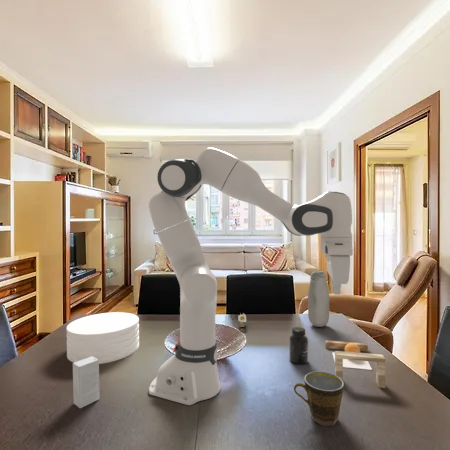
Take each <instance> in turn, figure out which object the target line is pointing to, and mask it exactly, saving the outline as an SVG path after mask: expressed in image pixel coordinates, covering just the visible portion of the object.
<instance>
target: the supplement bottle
mask: <svg viewBox="0 0 450 450" xmlns="http://www.w3.org/2000/svg"><path fill="white" fill-rule="evenodd" d="M291 328H292V329H291V335H290V337H289V349H288V350H289V351H288V352H289V361H290V362H291V363H292V364H295V365H305V364H307V363H308V362H309V339H308V337H307V336H306V328H304V327H299V326H295V327H291Z"/></svg>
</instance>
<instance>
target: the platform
mask: <svg viewBox="0 0 450 450" xmlns="http://www.w3.org/2000/svg"><path fill="white" fill-rule="evenodd" d="M237 318H238V320H237V321H238V322H240V326H245V323H246V322H247V314H245V313H244V312H243V313H242V314H241V312H240V315H237Z"/></svg>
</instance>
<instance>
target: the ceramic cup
mask: <svg viewBox="0 0 450 450" xmlns="http://www.w3.org/2000/svg"><path fill="white" fill-rule="evenodd" d="M303 381H304V383H303V382H297V383H296V384H295V385H294V387H293V390H294V393H295V394H296V395H297V396H299V397H300V398H301V399H302V400H303V401H304V402H306V403H307V405H308V408H309V412H310V413H309V414H310V417H311V419H312V420H313V422H315V423H317V424H319V425H321V426H324V427H325V426H334V425H335V424H336V423H337V421H339V415H340V409H341V404H342V398H343V396H344V395H343V393H344V389H345V383H344V380H343V381H342V380H341V379H340V378H339V377H338V376H336V375H335V373H330V372H327V371H318V370H317V371H312V372H308V373H307V374H305V375H304V380H303ZM297 387H301V388H303V389H304V391H305V392H306V396H307V399H305V397H304V396H303V395H301V394H300V393H299V392H297V390H296V389H297Z"/></svg>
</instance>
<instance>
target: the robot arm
mask: <svg viewBox="0 0 450 450" xmlns="http://www.w3.org/2000/svg"><path fill="white" fill-rule="evenodd" d="M156 180H157V183H158V186H159V188H160V189H161V190H160V191H159V192H158V193H156V194H154V195H153V196H152V197H151V198H150V199H149V201H148V209H149V213H150V218H151V220H152V224H153V226H154V229H155V231H156V234H157V236H158V239H159V241H160V244H161V246H162V248H163V250H164V253H165V256H166V258H167V259H168V261H169V263H170V266H171V267H172V271H173V272H174V274H175V277H176V278H177V281H178V284H179V288H180V289H179V291H180V292H179V294H180V295H179V298H180V307H179V313H180V314H179V328H180V331H179V332H180V333H179V335H180V337H179V338H180V339H179V340H178V341H177V343H176V344H175V346H174V348H173V349H172V353H173V355H171V357H169V358H168V359H167V360H165V361H164V362H163V363H162V364H161V365H160V367H159V369H158V371H157V374H156V377H155V378H154V379H153V380H152V381H151V383H150V385H149V386H148V395H150V396H155V397H158V398H162V399H165V400H169V401H172V402H174V403H179V404H183V405H186V406H193V405H194V404H196V403H197V402H200V401H204V400H208V399H212V398H213V397H215V396H217V394H219V393H220V391H221V390H222V385H221V381H220V378H219V377H220V376H219V373H218V372H219V371H218V365H217V360H218V346H217V345H218V343H217V341H216V312H217V303H218V302H217V301H218V281H217V278H216V276H215V274H214V273H213V272H212V270H211V269H210V267H209V264H208V262H207V259H206V257H205V254H204V251H203V248H202V245H201V243H200V240H199V238H198V235H197V233H196V231H195V228H194V226H193V223H192V220H191V219H190V216H189V214H188V212H187V209H186V201H189V199H191V198H192V197H193V196H194V195H195V194H197V193H198V192H199V191H200V189H201V187H202V186H203V185H209V186H211V187H213V188H214V189H217V190H218V191H219V192H221V193H223V194H225V195H226V196H229V197H231V198H233V199H235V200H238V201H241V202H245V203H248V204H251V205H253V206H256V207H258V208H260V209H262V210H263V211H264V212H266V213H268V214H269V215H270V216H272V217H275V218H276V219H278V220H279V221H280V222H281V223H282V225H283V226H284V228H285V229H286V230H287V231H288V232H289V233H290V234H292V235H294V236H305V237H310V236H314V235H318V234H319V235H320V253H322V254H324V257H325V259H326V272H327V274H328V275H329V277H330V278H331V283H332V293H333V294H334V295H340V294H341V289H342V285H347V284H348V283H349V279H350V271H351V270H350V269H351V257H352V256H353V255H354V253H353V249H354V248H353V233H352V224H353V213H352V212H353V211H352V210H353V208H352V203H351V199H350V197H349V196H348V195H347V194H346V193H344V192H338V191H325V192H323V193H322V194H320V195H319V196H317V197H316V198H313V199H312V200H309V201H306V202H304V203H302V204H294V203H290V202H289V201H288V200H285V199H284V198H282V197H280V196H279V195H277V194H276V193H274V192H272V190H269V188H267V187H266V185H265V184H264V182H263V180H262V178H261V176H260V174H259V173H258V172H257V170H255V169H254V168H253V167H252V166H251V165H249V164H248V163H247V162H245V161H244V160H242V159H240V158H238V157H236V156H234V155H232V154H231V153H229V152H226V151H223V150H220V149H218V148H215V147H207V148H205V149H204V150H202V151H201V153H200V154H199V155H198V157H197V158H196V159H195V160H194V159H193V158H175V159H169V160H167V161H166V162H164V163H163V164H162V165H161V166H160V168H159V169H158V172H157V179H156ZM174 353H175V354H174Z"/></svg>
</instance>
